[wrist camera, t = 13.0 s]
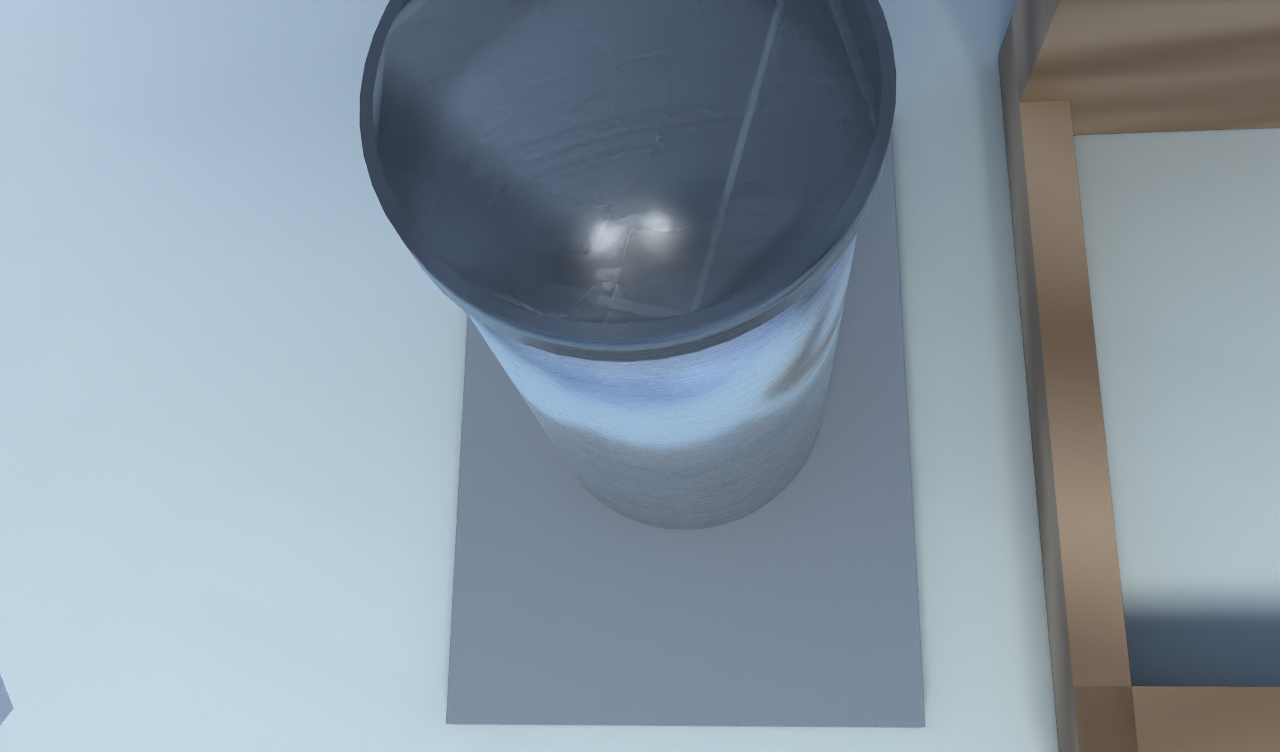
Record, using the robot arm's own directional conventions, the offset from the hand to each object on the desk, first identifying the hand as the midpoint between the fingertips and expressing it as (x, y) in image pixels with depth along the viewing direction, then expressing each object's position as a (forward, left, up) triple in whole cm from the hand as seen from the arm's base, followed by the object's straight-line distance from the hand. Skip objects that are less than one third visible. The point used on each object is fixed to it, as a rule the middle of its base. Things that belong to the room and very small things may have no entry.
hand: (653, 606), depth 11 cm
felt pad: (+6, +1, -14) cm, 15 cm away
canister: (+6, 0, -13) cm, 14 cm away
